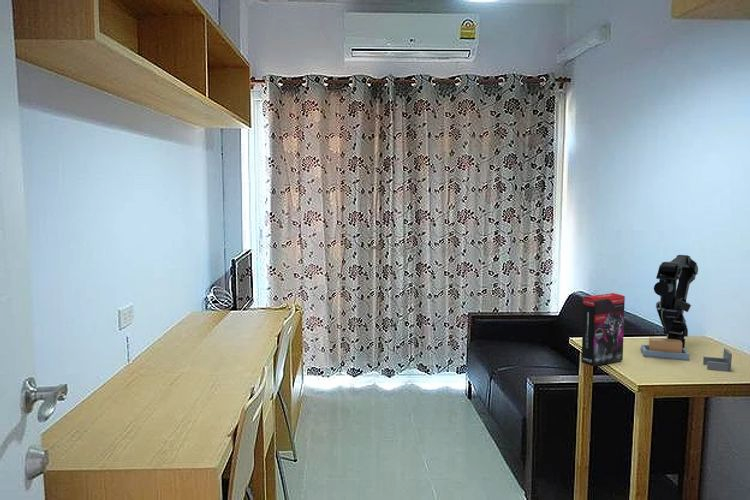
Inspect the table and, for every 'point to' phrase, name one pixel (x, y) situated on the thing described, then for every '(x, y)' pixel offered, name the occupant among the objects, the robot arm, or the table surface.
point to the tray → (664, 354)
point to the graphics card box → (603, 329)
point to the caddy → (665, 345)
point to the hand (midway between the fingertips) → (665, 329)
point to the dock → (719, 362)
